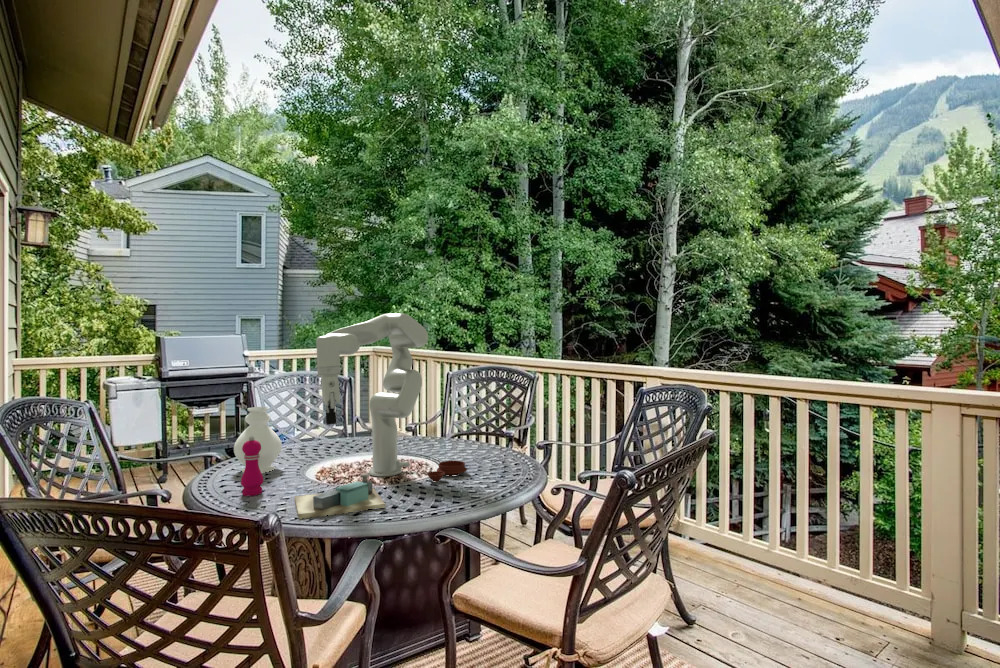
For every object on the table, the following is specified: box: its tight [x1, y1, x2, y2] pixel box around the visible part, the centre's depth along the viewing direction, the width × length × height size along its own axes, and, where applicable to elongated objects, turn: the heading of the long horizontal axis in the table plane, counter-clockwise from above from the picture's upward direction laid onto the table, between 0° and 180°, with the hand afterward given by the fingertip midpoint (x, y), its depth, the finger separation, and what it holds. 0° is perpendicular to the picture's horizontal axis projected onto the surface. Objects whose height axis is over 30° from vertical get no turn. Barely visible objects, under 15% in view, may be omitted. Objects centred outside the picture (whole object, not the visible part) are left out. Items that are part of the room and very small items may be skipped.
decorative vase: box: [233, 406, 283, 474], centre depth 238 cm, size 18×18×25 cm
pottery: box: [426, 460, 468, 481], centre depth 226 cm, size 12×20×4 cm, turn 152°
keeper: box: [335, 480, 368, 506], centre depth 190 cm, size 9×5×5 cm, turn 147°
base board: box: [294, 473, 386, 520], centre depth 192 cm, size 26×20×8 cm
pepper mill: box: [240, 436, 264, 497], centre depth 205 cm, size 7×7×20 cm
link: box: [313, 480, 374, 510], centre depth 191 cm, size 22×5×4 cm, turn 148°
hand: (331, 423), depth 206 cm, fingers closed
